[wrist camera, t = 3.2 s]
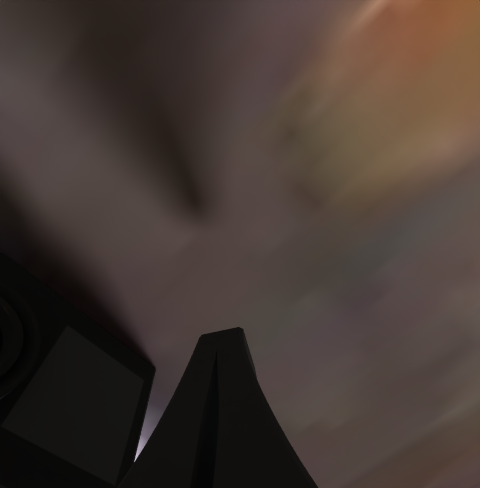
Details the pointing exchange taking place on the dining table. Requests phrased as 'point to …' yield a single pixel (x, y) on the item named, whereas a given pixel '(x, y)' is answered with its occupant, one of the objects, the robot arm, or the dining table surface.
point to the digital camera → (64, 392)
